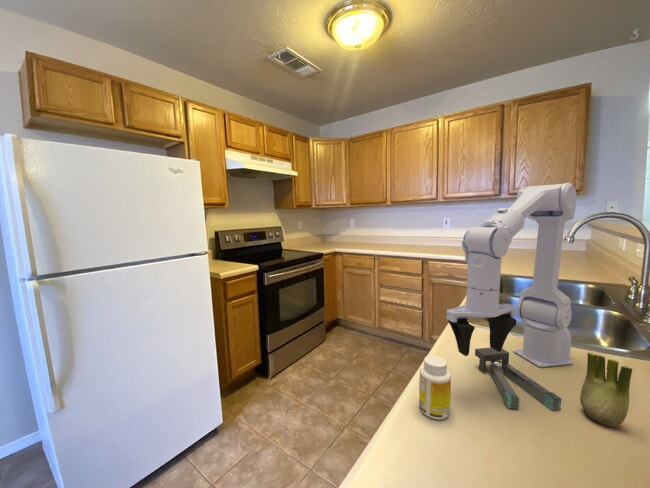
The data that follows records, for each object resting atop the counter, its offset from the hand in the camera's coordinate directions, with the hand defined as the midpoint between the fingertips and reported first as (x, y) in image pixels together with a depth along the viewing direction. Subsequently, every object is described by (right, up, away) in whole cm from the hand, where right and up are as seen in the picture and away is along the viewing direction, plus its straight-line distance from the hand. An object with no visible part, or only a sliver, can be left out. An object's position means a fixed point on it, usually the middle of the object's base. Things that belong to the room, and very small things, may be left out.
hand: (479, 351), depth 57 cm
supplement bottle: (-11, -10, -3) cm, 15 cm away
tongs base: (+11, -9, +3) cm, 14 cm away
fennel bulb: (+18, -10, -6) cm, 22 cm away
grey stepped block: (+9, -8, +10) cm, 16 cm away
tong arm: (+6, -9, +2) cm, 11 cm away
